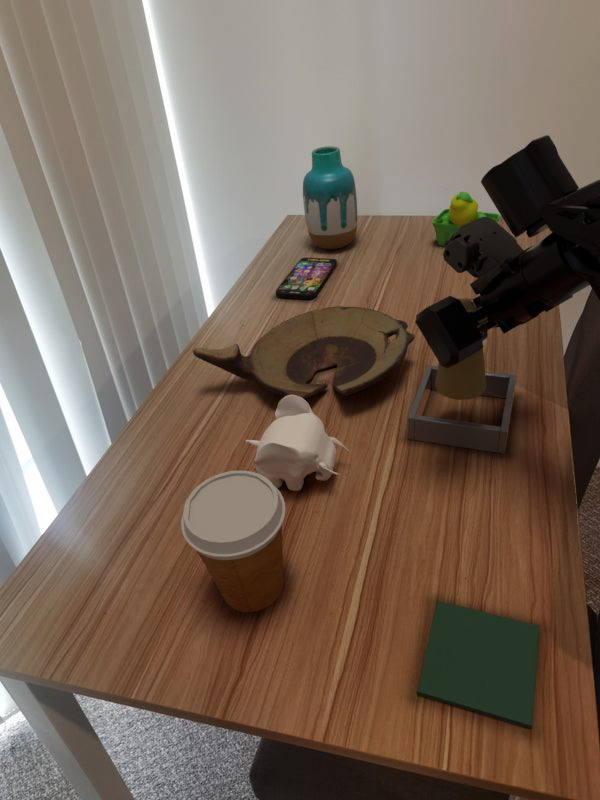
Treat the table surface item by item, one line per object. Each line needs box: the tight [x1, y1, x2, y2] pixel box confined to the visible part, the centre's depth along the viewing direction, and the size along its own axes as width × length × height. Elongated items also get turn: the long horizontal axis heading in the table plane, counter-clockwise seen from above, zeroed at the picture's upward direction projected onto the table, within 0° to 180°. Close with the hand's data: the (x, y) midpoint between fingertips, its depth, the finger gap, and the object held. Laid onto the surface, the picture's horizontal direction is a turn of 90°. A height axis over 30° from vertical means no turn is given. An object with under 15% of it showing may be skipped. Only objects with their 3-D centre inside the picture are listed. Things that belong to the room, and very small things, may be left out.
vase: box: [302, 145, 358, 250], centre depth 119 cm, size 11×11×19 cm
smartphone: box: [275, 257, 338, 300], centre depth 113 cm, size 8×1×15 cm
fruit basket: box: [431, 191, 501, 247], centre depth 115 cm, size 11×9×11 cm
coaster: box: [416, 600, 540, 730], centre depth 52 cm, size 9×9×1 cm
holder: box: [407, 364, 518, 455], centre depth 76 cm, size 12×12×4 cm
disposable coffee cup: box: [180, 470, 286, 613], centre depth 57 cm, size 10×10×12 cm
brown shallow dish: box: [192, 306, 416, 399], centre depth 87 cm, size 22×30×8 cm
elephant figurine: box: [245, 395, 350, 492], centre depth 70 cm, size 10×12×9 cm
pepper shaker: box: [435, 297, 488, 401], centre depth 69 cm, size 6×6×11 cm
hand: (453, 334), depth 70 cm, fingers closed on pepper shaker, 5 cm apart
